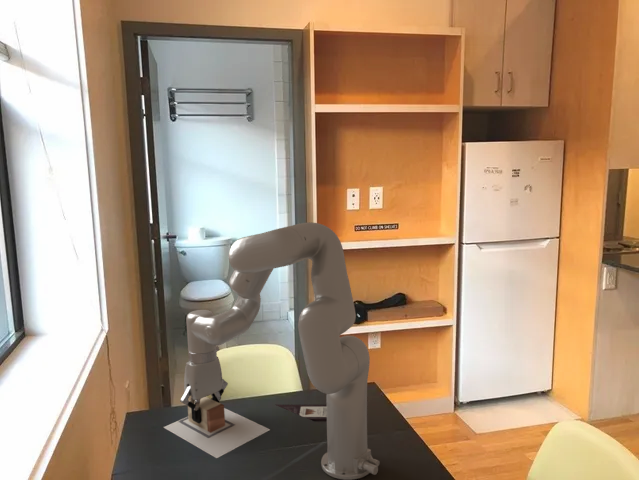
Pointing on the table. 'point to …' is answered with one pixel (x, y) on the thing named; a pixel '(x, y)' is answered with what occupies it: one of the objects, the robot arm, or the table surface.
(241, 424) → the mat
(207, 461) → the table surface
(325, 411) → the chocolate bar
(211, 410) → the block
